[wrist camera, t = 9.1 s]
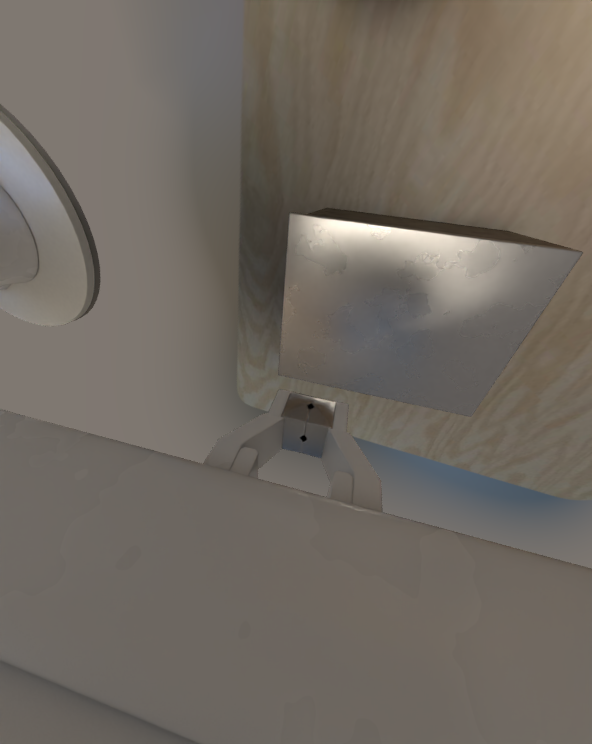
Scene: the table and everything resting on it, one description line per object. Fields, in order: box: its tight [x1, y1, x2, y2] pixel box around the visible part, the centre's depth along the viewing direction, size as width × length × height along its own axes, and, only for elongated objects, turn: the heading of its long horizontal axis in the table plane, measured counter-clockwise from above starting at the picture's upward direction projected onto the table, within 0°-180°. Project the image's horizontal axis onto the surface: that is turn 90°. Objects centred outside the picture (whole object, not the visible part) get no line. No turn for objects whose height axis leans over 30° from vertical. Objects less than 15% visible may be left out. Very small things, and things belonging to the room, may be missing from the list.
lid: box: [278, 212, 583, 417], centre depth 19 cm, size 16×13×1 cm
